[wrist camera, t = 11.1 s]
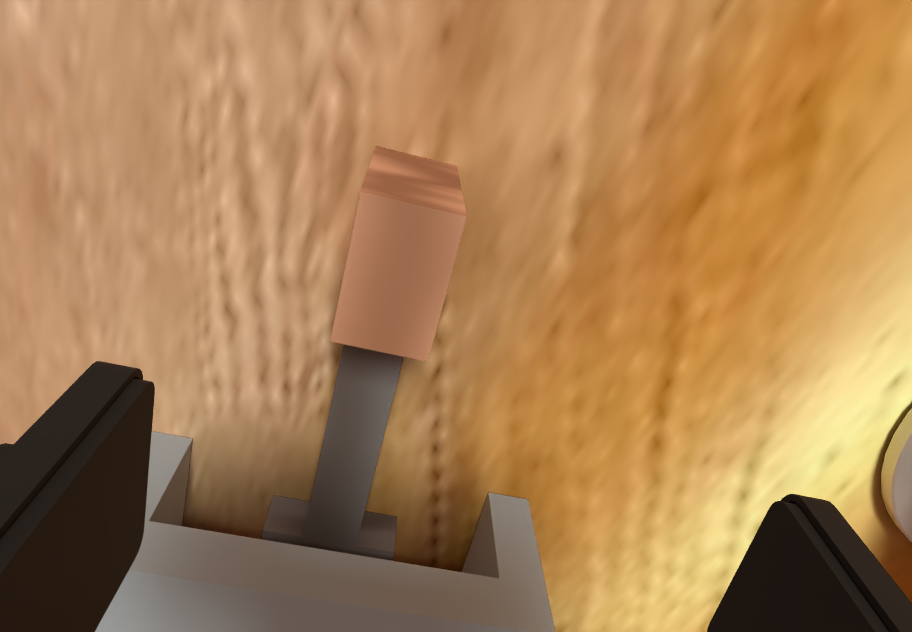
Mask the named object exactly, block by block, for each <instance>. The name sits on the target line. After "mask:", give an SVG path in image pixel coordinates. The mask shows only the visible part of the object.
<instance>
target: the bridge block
mask: <svg viewBox="0 0 912 632" xmlns="http://www.w3.org/2000/svg"><path fill="white" fill-rule="evenodd" d="M192 440H193V439H191V438H186V437H180V436H175V435H169V434H164V433H158V432H153V431H152V433H151V446H150V459H149V473H148V486H147V499H146V512H145V525H144V534H143V539H142V543H141V546H140V549H139V552H138V554H137V556H136V558H135V560H134V562H133V564H132V566H131V567H130V569H129V571H128V573H127V575H126V576H125V578H124V580H123V582H122V584H121V585H120V587H119V589H118V591H117V593H116V594H115V596H114V598H113V600H112V602H111V603H110V605H109V607H108V609H107V611H106V612H105V614H104V616H103V618H102V620H101V621H100V623H99V625H98V627H97V629H96V630H95V632H555V628H554V623H553V618H552V613H551V609H550V604H549V599H548V594H547V589H546V584H545V580H544V575H543V570H542V565H541V560H540V555H539V550H538V546H537V541H536V536H535V531H534V526H533V521H532V517H531V512H530V507H529V502H528V500H527V499H522V498H516V497H511V496H505V495H500V494H494V493H489V492H488V495H487V498H486V501H485V504H484V507H483V510H482V513H481V516H480V519H479V522H478V525H477V528H476V531H475V534H474V537H473V540H472V543H471V546H470V549H469V552H468V555H467V558H466V561H465V564H464V567H463V570H462V572H457V571H451V570H445V569H439V568H432V567H426V566H420V565H414V564H408V563H402V562H396V561H390V560H384V559H378V558H372V557H365V556H359V555H353V554H347V553H341V552H335V551H329V550H323V549H317V548H311V547H305V546H299V545H292V544H286V543H280V542H274V541H268V540H262V539H256V538H250V537H244V536H238V535H232V534H225V533H219V532H213V531H207V530H201V529H195V528H189V527H183V526H182V522H183V514H184V505H185V497H186V489H187V481H188V472H189V464H190V456H191V448H192Z"/></svg>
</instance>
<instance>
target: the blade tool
mask: <svg viewBox="0 0 912 632" xmlns="http://www.w3.org/2000/svg"><path fill="white" fill-rule="evenodd" d="M466 218H467V215H466V210H465V205H464V200H463V195H462V189H461V184H460V179H459V174H458V169H457V166H455V165H451V164H447V163H443V162H438V161H434V160H430V159H426V158H422V157H418V156H414V155H410V154H406V153H402V152H398V151H394V150H390V149H386V148H382V147H378V146H376V147H375V150H374V153H373V156H372V159H371V162H370V165H369V168H368V171H367V174H366V177H365V180H364V183H363V186H362V189H361V192H360V197H359V202H358V207H357V212H356V217H355V222H354V227H353V231H352V236H351V241H350V246H349V251H348V256H347V261H346V266H345V271H344V276H343V281H342V286H341V290H340V295H339V300H338V305H337V310H336V315H335V320H334V325H333V330H332V335H331V340H330V342H335V343H340V344H344V347H343V351H342V356H341V361H340V365H339V370H338V375H337V379H336V384H335V389H334V394H333V398H332V403H331V408H330V412H329V417H328V422H327V427H326V431H325V436H324V441H323V445H322V450H321V455H320V459H319V464H318V469H317V474H316V478H315V483H314V488H313V492H312V497H311V502H309V501H304V500H298V499H292V498H286V497H280V496H275V495H273V498H272V501H271V505H270V508H269V511H268V515H267V518H266V521H265V524H264V528H263V531H262V537H261V539H262V540H268V541H274V542H280V543H286V544H292V545H299V546H305V547H311V548H317V549H323V550H329V551H335V552H341V553H347V554H353V555H359V556H365V557H372V558H378V559H384V560H390V561H392V560H393V556H394V553H395V538H396V520H397V517H396V516H390V515H384V514H379V513H373V512H367V511H365V508H366V504H367V500H368V496H369V492H370V488H371V484H372V480H373V476H374V472H375V468H376V464H377V460H378V456H379V452H380V448H381V444H382V440H383V436H384V432H385V428H386V425H387V421H388V417H389V413H390V409H391V405H392V401H393V397H394V393H395V389H396V385H397V381H398V377H399V373H400V369H401V365H402V361H403V357H408V358H413V359H418V360H422V361H427V362H428V359H429V355H430V352H431V348H432V344H433V341H434V337H435V333H436V329H437V326H438V322H439V318H440V315H441V311H442V307H443V303H444V300H445V296H446V292H447V289H448V285H449V281H450V277H451V274H452V270H453V266H454V263H455V259H456V255H457V251H458V248H459V244H460V240H461V237H462V233H463V229H464V225H465V222H466Z"/></svg>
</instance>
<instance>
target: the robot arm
mask: <svg viewBox="0 0 912 632" xmlns="http://www.w3.org/2000/svg"><path fill="white" fill-rule="evenodd" d="M154 393H155V387H154V383H153V382H150V381H145V380H143V375H142V371H141V370H140V369H138V368H132V367H127V366H122V365H117V364H111V363H106V362H101V361H96V362H95V363H93V364H92V365H91V366H90V367H89V368H88V369H87V370H86V371H85V372H84V373H83V374H82V375H81V376H80V377H79V378H78V379H77V380H76V381H75V382H74V383H73V384H72V385H71V386H70V388H69V389H68V390H67V391H66V392H65V393H64V394H63V395H62V396H61V397H60V398H59V399H58V400H57V401H56V402H55V403H54V404H53V405H52V406H51V407H50V408H49V409H48V410H47V411H46V412H45V413H44V414H43V415H42V416H41V417H40V418H39V419H38V420H37V421H36V422H35V423H34V424H33V425H32V426H31V427H30V428H29V429H28V430H27V431H26V432H25V433H24V434H23V435H22V436H21V437H20V439H19V440H18V441H17V442H16V443H15V444H14V445H13V444H7V443H5V444H1V445H0V632H95V630H96V629H97V627H98V625H99V623H100V621H101V620H102V618H103V616H104V614H105V612H106V611H107V609H108V607H109V605H110V603H111V602H112V600H113V598H114V596H115V594H116V593H117V591H118V589H119V587H120V585H121V584H122V582H123V580H124V578H125V576H126V575H127V573H128V571H129V569H130V567H131V566H132V564H133V562H134V560H135V558H136V556H137V554H138V552H139V549H140V546H141V543H142V539H143V534H144V525H145V512H146V499H147V486H148V473H149V459H150V446H151V433H152V420H153V406H154ZM881 492H882V497H883V500H884V504H885V507H886V510H887V512H888V514H889V515H890V517H891V518H892V520H893V521H894V523H895V525H896V526H897V527H898V528H899V529H900V530H901V531H902V533H903V534H904V535H905V536H906V537H907V538H908V539H909V540H910V541H911V542H912V409H911V410H910V411H909V412H908V413H907V415H906V416H905V418H904V419H903V421H902V422H901V424H900V425H899V427H898V429H897V430H896V432H895V433H894V435H893V438H892V440H891V442H890V445H889V447H888V449H887V451H886V454H885V458H884V463H883V468H882V472H881ZM707 632H912V603H911V602H910V600H909V599H908V598H907V597H906V595H905V594H904V593H903V592H902V590H901V589H900V588H899V587H898V585H897V584H896V583H895V581H894V580H893V579H892V578H891V576H890V575H889V574H888V573H887V571H886V570H885V569H884V568H883V566H882V565H881V564H880V563H879V561H878V560H877V559H876V558H875V556H874V555H873V554H872V553H871V551H870V550H869V549H868V547H867V546H866V545H865V544H864V542H863V541H862V540H861V539H860V537H859V536H858V535H857V534H856V532H855V531H854V530H853V529H852V527H851V526H850V525H849V524H848V522H847V521H846V520H845V519H844V517H843V516H842V515H841V514H840V512H839V511H838V510H837V508H836V507H835V506H834V505H833V504H832V503H831V502H829V501H826V500H822V499H817V498H811V497H806V496H801V495H796V494H790V495H787V496H785V497H784V498H783V499H782V500H781V501H777V502H775V503H773V504H772V505H771V507H770V508H769V510H768V512H767V514H766V516H765V518H764V520H763V521H762V523H761V525H760V527H759V529H758V531H757V533H756V535H755V537H754V539H753V541H752V543H751V545H750V546H749V548H748V550H747V552H746V554H745V556H744V558H743V560H742V562H741V564H740V566H739V568H738V570H737V572H736V573H735V575H734V577H733V579H732V581H731V583H730V585H729V587H728V589H727V591H726V593H725V595H724V597H723V598H722V600H721V602H720V604H719V606H718V608H717V610H716V612H715V614H714V616H713V618H712V620H711V622H710V624H709V626H708V630H707Z"/></svg>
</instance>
